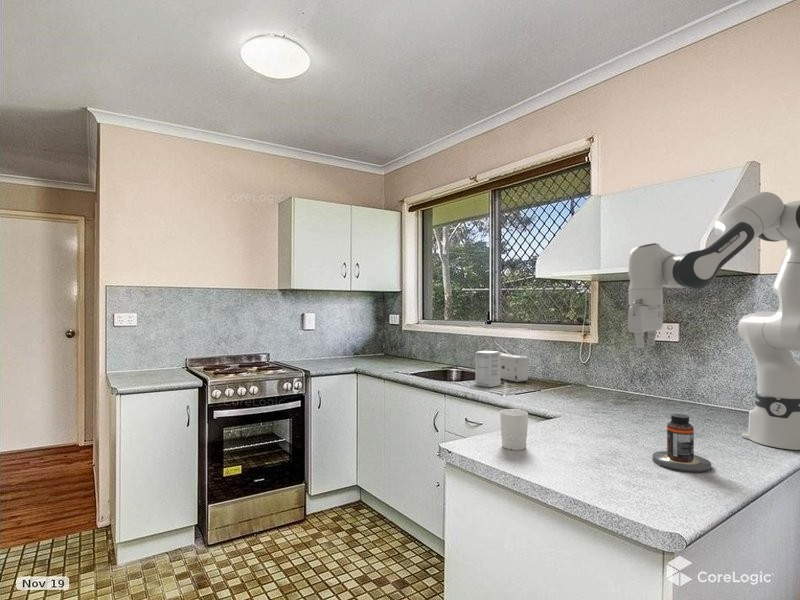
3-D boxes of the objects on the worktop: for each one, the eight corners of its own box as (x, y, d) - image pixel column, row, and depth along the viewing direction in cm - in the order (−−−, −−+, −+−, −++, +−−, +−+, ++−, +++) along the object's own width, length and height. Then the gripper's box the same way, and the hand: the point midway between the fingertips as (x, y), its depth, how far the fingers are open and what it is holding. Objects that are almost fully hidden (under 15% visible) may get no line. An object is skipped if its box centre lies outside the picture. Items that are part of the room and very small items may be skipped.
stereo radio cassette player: (528, 381, 246) (528, 343, 246) (517, 383, 241) (517, 344, 242) (501, 376, 264) (501, 340, 264) (490, 377, 260) (490, 341, 260)
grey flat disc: (660, 452, 131) (660, 447, 131) (716, 463, 122) (716, 458, 122) (645, 463, 121) (645, 459, 121) (704, 477, 112) (704, 471, 112)
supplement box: (501, 385, 235) (501, 351, 235) (491, 387, 228) (491, 353, 228) (485, 382, 242) (485, 350, 242) (474, 385, 235) (474, 351, 235)
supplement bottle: (666, 453, 125) (666, 411, 125) (692, 457, 123) (692, 413, 123) (667, 460, 120) (667, 416, 120) (695, 464, 117) (695, 419, 117)
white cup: (521, 441, 140) (521, 408, 140) (532, 450, 132) (532, 414, 132) (495, 443, 139) (496, 409, 139) (506, 451, 131) (506, 415, 131)
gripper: (645, 299, 127) (646, 350, 127) (667, 299, 142) (667, 344, 142) (621, 299, 132) (621, 348, 132) (644, 299, 147) (645, 343, 147)
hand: (645, 346), depth 137 cm, fingers open, 8 cm apart
